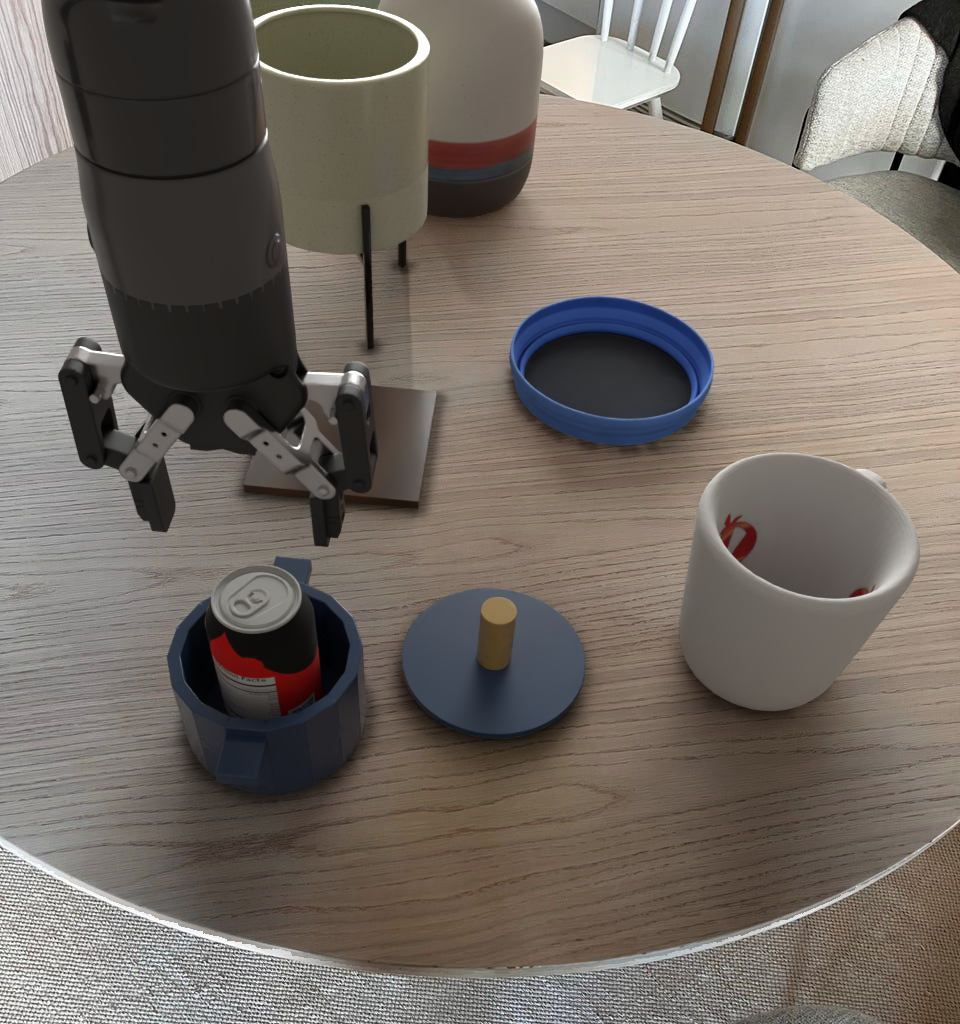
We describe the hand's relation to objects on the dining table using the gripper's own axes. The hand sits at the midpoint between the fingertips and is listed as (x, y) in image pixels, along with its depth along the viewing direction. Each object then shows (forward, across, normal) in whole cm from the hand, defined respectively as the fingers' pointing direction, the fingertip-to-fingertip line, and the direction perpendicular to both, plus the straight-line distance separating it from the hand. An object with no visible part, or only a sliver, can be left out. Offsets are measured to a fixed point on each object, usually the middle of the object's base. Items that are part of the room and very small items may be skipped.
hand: (244, 528), depth 54 cm
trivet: (+18, 0, -28) cm, 33 cm away
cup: (+18, -34, -11) cm, 40 cm away
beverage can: (+18, 0, 0) cm, 18 cm away
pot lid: (+17, -14, -6) cm, 23 cm away
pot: (+18, 0, 0) cm, 18 cm away
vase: (+18, -5, -71) cm, 73 cm away
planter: (+18, +3, -49) cm, 52 cm away
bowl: (+18, -22, -39) cm, 48 cm away
